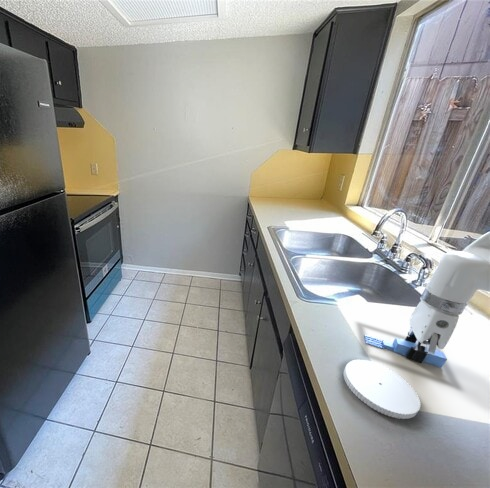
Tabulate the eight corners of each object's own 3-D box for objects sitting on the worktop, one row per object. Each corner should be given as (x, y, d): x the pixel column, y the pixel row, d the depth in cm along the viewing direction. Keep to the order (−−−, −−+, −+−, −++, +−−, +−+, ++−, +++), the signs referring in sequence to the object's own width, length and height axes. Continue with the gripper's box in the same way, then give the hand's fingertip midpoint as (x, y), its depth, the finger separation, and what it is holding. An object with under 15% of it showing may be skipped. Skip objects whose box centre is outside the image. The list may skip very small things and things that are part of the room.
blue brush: (436, 360, 70) (442, 350, 68) (441, 370, 67) (447, 360, 65) (363, 337, 77) (367, 327, 75) (365, 344, 74) (369, 335, 73)
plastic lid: (402, 379, 64) (406, 372, 63) (427, 434, 52) (433, 426, 51) (338, 359, 69) (341, 352, 68) (347, 404, 58) (351, 397, 57)
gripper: (481, 326, 55) (439, 385, 62) (449, 289, 68) (419, 341, 76) (434, 313, 58) (400, 371, 66) (413, 280, 72) (387, 331, 79)
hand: (410, 354), depth 71 cm, fingers open, 3 cm apart
